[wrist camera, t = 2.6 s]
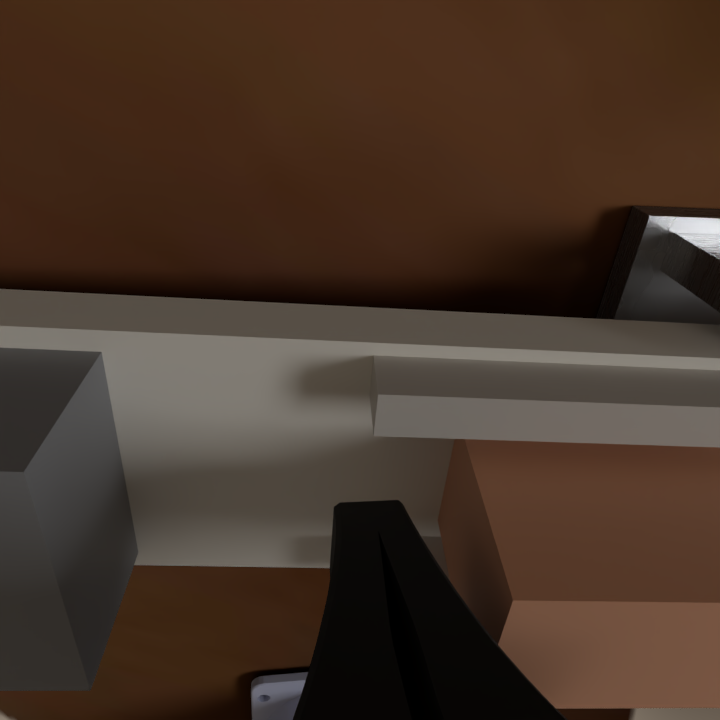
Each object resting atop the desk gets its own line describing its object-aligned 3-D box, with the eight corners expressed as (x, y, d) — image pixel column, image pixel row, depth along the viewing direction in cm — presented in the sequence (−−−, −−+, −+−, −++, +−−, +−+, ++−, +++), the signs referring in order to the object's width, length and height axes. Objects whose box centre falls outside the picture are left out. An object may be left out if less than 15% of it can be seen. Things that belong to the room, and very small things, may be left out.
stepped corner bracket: (32, 534, 18) (-42, 706, 14) (-81, 177, 12) (-272, 279, 8) (880, 495, 23) (1025, 614, 18) (1087, 223, 17) (1369, 303, 13)
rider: (437, 520, 15) (476, 708, 11) (458, 419, 13) (513, 600, 9) (663, 524, 15) (779, 707, 11) (712, 428, 13) (868, 604, 10)
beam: (-7, 522, 16) (-128, 711, 12) (-98, 271, 12) (-331, 419, 8) (1056, 544, 19) (1273, 707, 14) (1267, 341, 15) (1653, 483, 10)
